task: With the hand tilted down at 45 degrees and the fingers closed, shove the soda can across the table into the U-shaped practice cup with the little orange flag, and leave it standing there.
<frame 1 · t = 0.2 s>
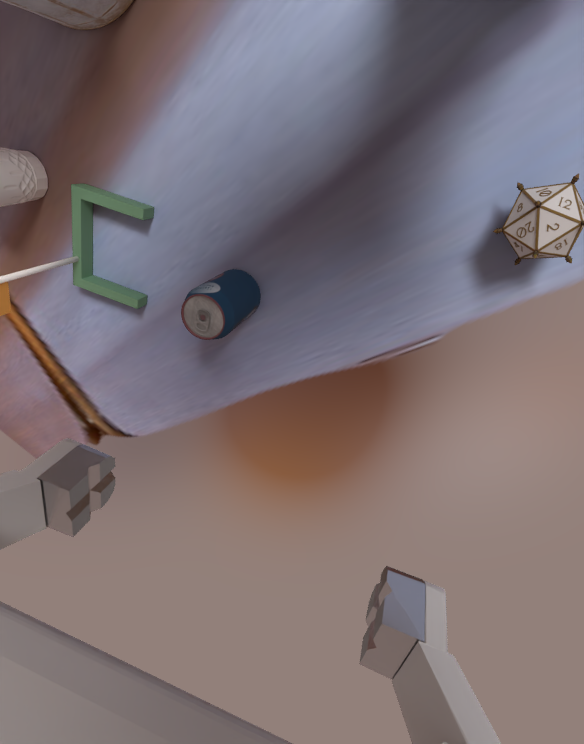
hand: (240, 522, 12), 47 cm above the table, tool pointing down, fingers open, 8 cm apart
game die: (536, 218, 47), on the table
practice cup: (121, 248, 64), on the table
soda can: (241, 290, 61), on the table
white cup: (30, 175, 63), on the table
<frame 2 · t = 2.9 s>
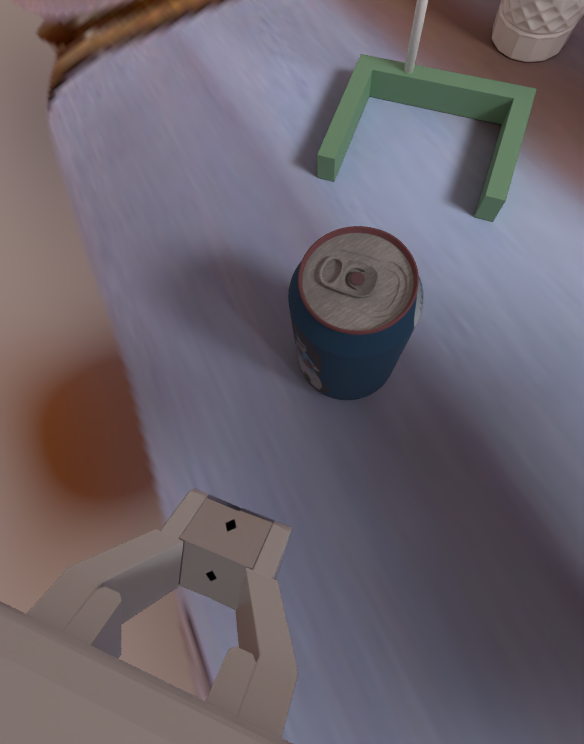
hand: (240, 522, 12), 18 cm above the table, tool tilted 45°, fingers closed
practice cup: (418, 152, 36), on the table
soda can: (344, 359, 32), on the table
white cup: (526, 39, 40), on the table
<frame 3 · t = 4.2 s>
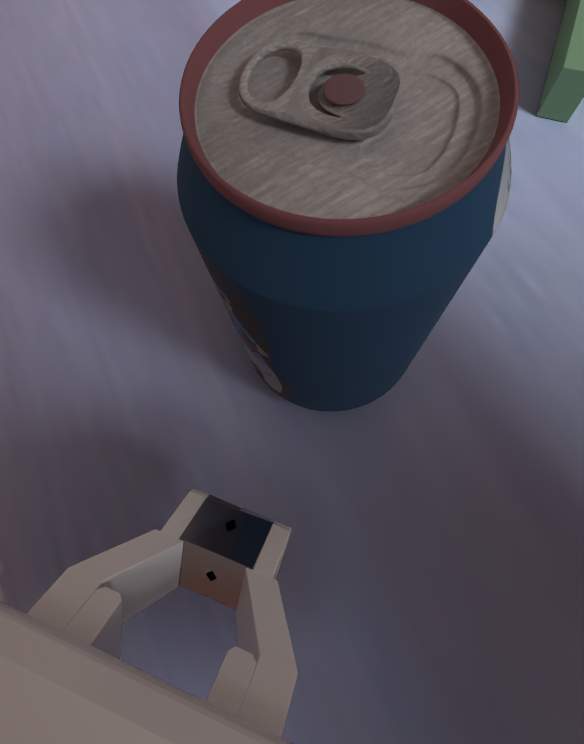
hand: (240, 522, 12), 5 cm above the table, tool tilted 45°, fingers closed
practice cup: (444, 26, 24), on the table
soda can: (328, 342, 19), on the table
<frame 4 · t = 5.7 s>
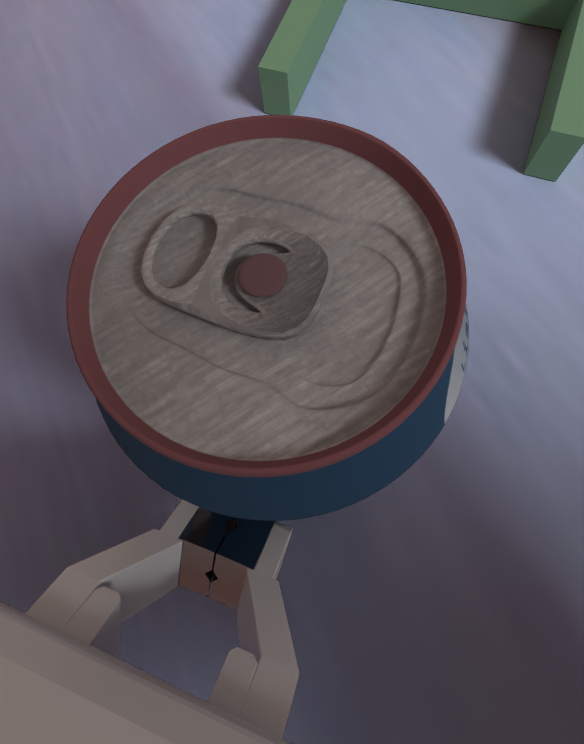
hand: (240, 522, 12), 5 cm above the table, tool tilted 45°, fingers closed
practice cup: (428, 73, 22), on the table
soda can: (299, 422, 18), on the table, touching gripper
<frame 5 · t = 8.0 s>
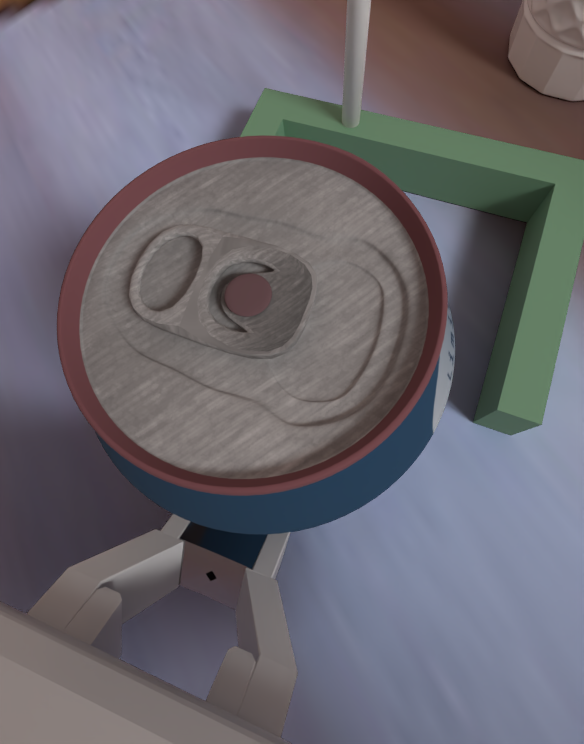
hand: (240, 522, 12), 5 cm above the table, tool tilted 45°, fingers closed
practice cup: (369, 276, 19), on the table
soda can: (297, 427, 18), on the table, touching gripper
white cup: (570, 58, 22), on the table
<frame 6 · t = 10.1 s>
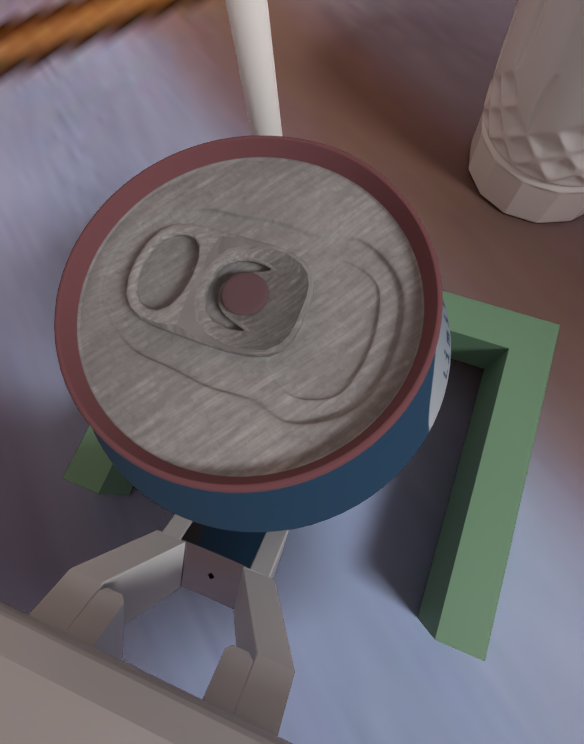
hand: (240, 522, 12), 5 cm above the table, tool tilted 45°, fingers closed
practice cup: (309, 431, 17), on the table
soda can: (295, 427, 18), on the table, touching gripper
white cup: (536, 169, 21), on the table
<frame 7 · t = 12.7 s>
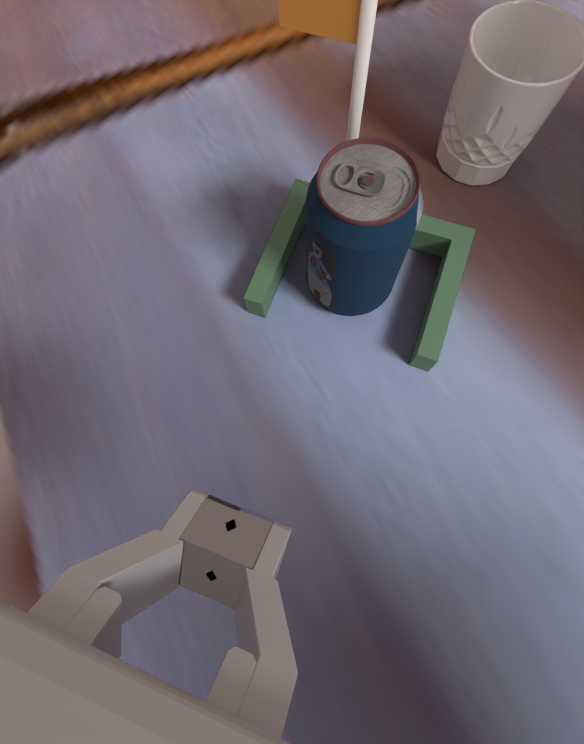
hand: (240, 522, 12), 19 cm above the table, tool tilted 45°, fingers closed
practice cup: (354, 287, 35), on the table
soda can: (348, 284, 35), on the table
white cup: (472, 157, 38), on the table
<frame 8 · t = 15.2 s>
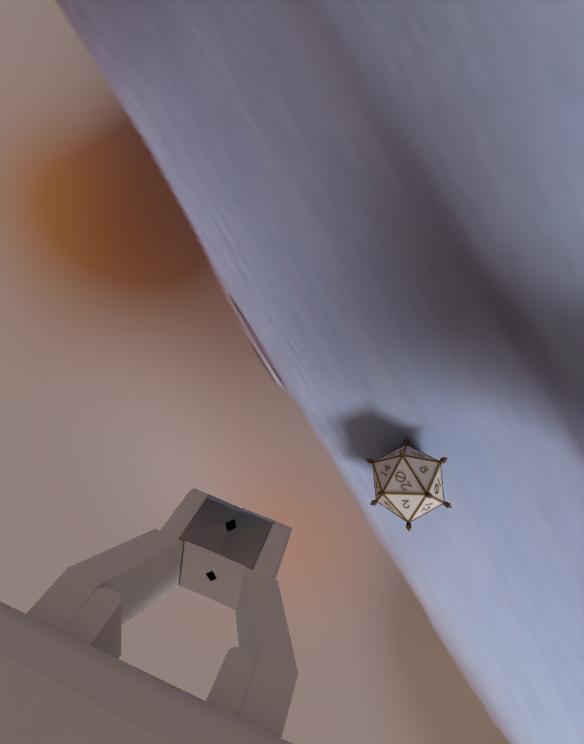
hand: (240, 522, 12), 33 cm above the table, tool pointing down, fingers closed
game die: (409, 458, 49), on the table
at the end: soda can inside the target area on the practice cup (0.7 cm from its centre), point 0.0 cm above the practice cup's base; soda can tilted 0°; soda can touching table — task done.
